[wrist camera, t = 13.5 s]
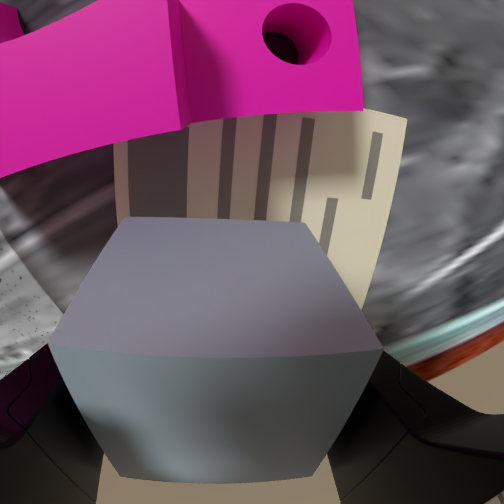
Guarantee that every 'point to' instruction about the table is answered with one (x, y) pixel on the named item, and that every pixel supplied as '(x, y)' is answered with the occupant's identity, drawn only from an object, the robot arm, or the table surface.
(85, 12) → the toy block
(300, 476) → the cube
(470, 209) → the table surface
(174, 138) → the letter
